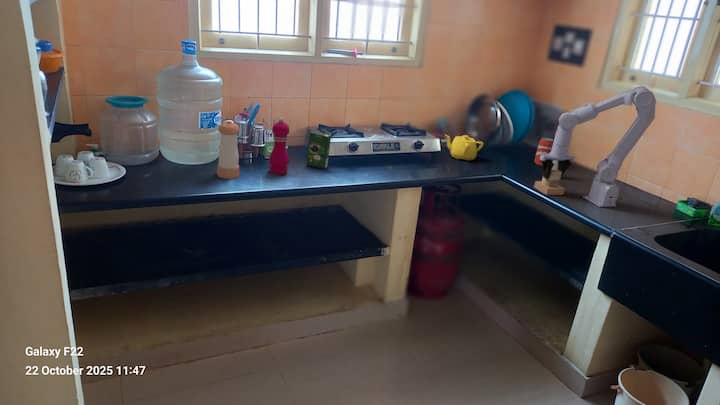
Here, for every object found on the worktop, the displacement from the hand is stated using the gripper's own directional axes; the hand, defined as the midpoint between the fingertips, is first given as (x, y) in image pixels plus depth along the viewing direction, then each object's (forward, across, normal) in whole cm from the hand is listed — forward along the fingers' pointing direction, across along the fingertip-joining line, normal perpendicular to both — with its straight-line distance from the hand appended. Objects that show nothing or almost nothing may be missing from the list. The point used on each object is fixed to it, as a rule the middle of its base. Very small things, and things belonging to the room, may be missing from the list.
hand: (551, 178), depth 200 cm
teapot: (+6, +18, -40) cm, 44 cm away
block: (+3, 0, 0) cm, 3 cm away
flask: (+6, -14, -16) cm, 22 cm away
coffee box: (+6, +86, -28) cm, 91 cm away
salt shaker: (+6, +120, -19) cm, 122 cm away
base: (+5, 0, 0) cm, 5 cm away
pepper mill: (+6, +102, -22) cm, 105 cm away
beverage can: (+6, -20, -31) cm, 37 cm away
